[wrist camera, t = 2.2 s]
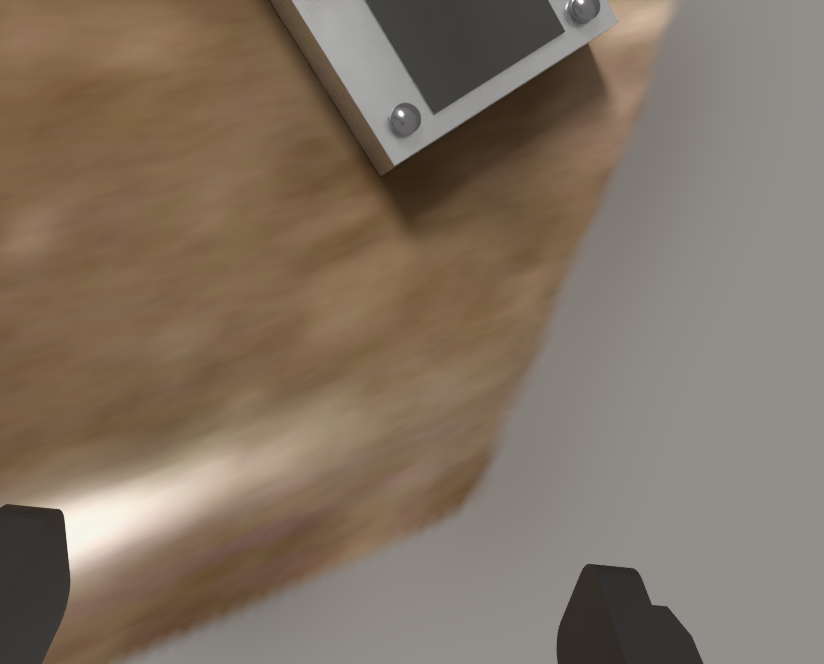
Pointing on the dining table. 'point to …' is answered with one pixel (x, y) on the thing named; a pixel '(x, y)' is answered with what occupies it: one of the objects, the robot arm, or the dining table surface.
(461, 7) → the plate
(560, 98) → the dining table surface
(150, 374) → the dining table surface
